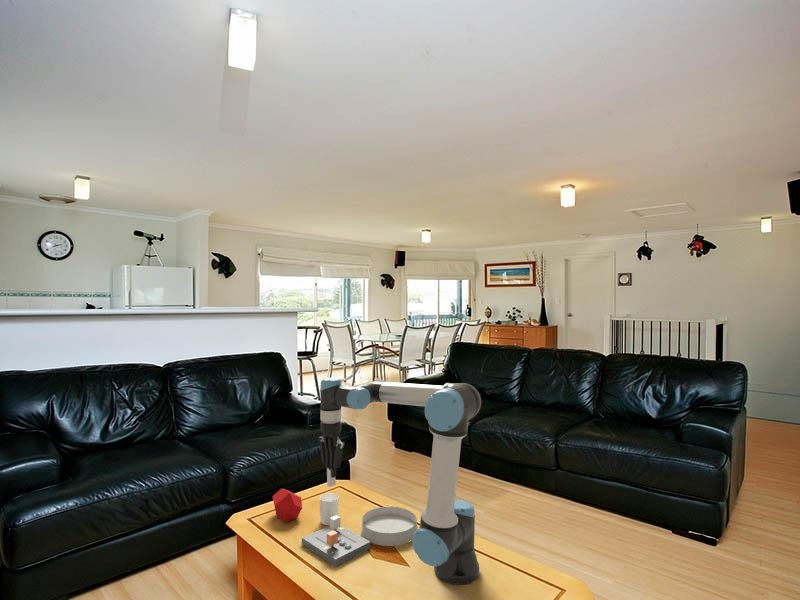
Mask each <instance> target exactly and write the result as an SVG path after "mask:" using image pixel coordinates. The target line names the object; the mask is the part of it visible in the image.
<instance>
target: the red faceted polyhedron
mask: <svg viewBox="0 0 800 600" xmlns="http://www.w3.org/2000/svg"><path fill="white" fill-rule="evenodd" d="M272 501H273V505H274V511H275V515H276V519H278V520H280V521H281V522H284V523H287V522H290V521H293V520H296V519H298V518H299V515H300V513H301V511H302V510H303V504H302V503H303V501H302V497H301V496H300V495H297V494H296V493H293V492H292V491H289V490H287V489H285V488H281V489H279V490H278V491H277V492H276V493H274V495H272Z"/></svg>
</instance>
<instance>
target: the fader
mask: <svg viewBox="0 0 800 600" xmlns="http://www.w3.org/2000/svg"><path fill="white" fill-rule="evenodd" d="M336 543H338V532H336V531H334V530H333V531H331V532H329V533H327V544H328V545H330V546H331V547H334V544H336Z"/></svg>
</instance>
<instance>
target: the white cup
mask: <svg viewBox="0 0 800 600" xmlns="http://www.w3.org/2000/svg"><path fill="white" fill-rule="evenodd" d="M339 502H340V496H339V495H338V494H337V493H332V492H328V493H322V495H320V496H319V515H320V523H321V525H324V526H330V518H331V517H333V516H336V515H337V516H338V515H339Z"/></svg>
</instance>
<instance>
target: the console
mask: <svg viewBox="0 0 800 600" xmlns="http://www.w3.org/2000/svg"><path fill="white" fill-rule="evenodd" d="M333 530H334V529H332V528H330V525H327V526H326V527H323V528H321V529H319V530H317V531H314V532H312V533H309V534H308V535H305V536H303V537H301V545H302V546H303V547H304V548H306V549H308V550H309V551H311V552H312V553H314V554H316V555H317V556H319V557H320V558H322V559H323V560H324V561H326V562H327V563H329V564H331V565H332V566H333V567H338V566H339V565H341V564H344V563H345V562H347V561H349V560H350V559H351V560H352V559H353V558H355V557H357V556H359V555H360V554H363V553H364V552H366V551H369V550H370V549H371V542H370V541H368V540H366V539H365V538H364V537H363V536H362V535H359V534H357V533H355V532H353V531H352V530H350V529H348V528H346V527H344V526H343V525H341V524H340V527H338V528H336V532H338V543H336V544H334V547H331V546H330V545H328V544H327V533H329V532H331V531H333ZM334 531H335V530H334Z"/></svg>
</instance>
